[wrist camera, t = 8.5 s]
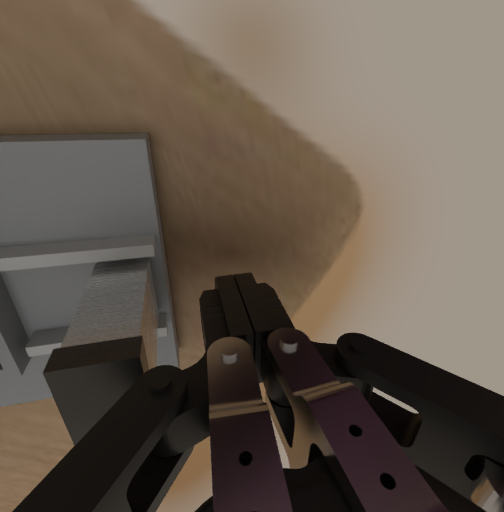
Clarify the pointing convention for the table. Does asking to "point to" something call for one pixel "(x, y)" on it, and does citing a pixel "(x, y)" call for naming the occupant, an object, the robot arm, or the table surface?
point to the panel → (70, 242)
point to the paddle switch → (105, 343)
